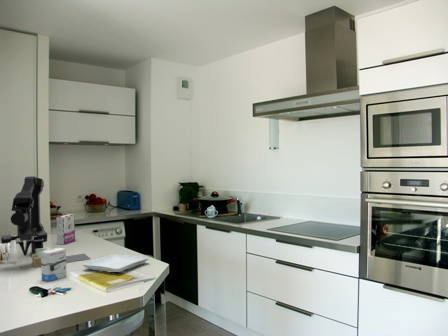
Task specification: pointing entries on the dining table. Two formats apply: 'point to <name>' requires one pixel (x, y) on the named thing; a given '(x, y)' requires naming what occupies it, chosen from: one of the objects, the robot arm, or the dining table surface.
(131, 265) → the salad plate
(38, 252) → the sage green tile
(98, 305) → the dining table surface
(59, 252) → the ink box
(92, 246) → the dining table surface
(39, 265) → the deck
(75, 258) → the mat
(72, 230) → the candy bar box
